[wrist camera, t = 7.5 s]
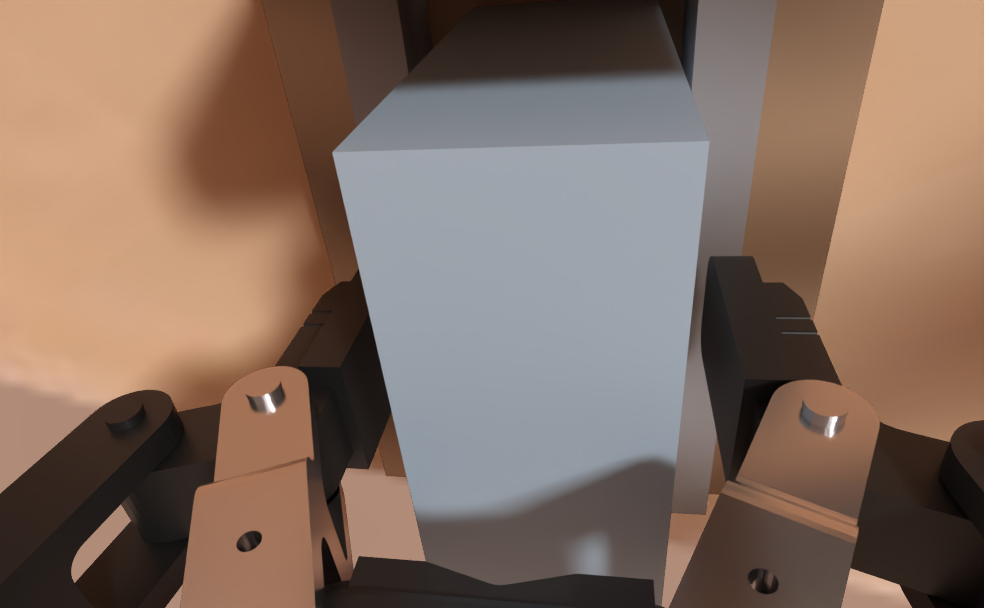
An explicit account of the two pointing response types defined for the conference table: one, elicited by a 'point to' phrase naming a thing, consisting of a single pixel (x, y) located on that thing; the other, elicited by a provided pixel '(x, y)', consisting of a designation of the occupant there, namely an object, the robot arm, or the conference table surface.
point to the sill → (721, 104)
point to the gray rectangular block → (535, 284)
